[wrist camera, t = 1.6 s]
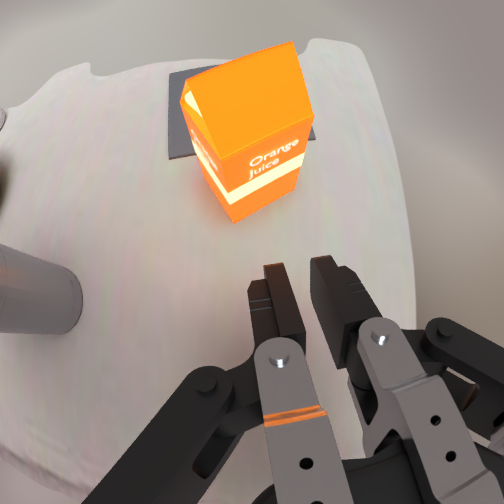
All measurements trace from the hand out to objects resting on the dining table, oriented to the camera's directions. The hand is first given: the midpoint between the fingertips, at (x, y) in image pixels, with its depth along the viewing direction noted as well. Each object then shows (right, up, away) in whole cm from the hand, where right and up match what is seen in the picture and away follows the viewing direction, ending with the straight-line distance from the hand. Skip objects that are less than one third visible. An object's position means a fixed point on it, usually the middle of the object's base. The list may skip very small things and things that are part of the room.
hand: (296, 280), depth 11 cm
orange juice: (-2, +10, +25) cm, 27 cm away
